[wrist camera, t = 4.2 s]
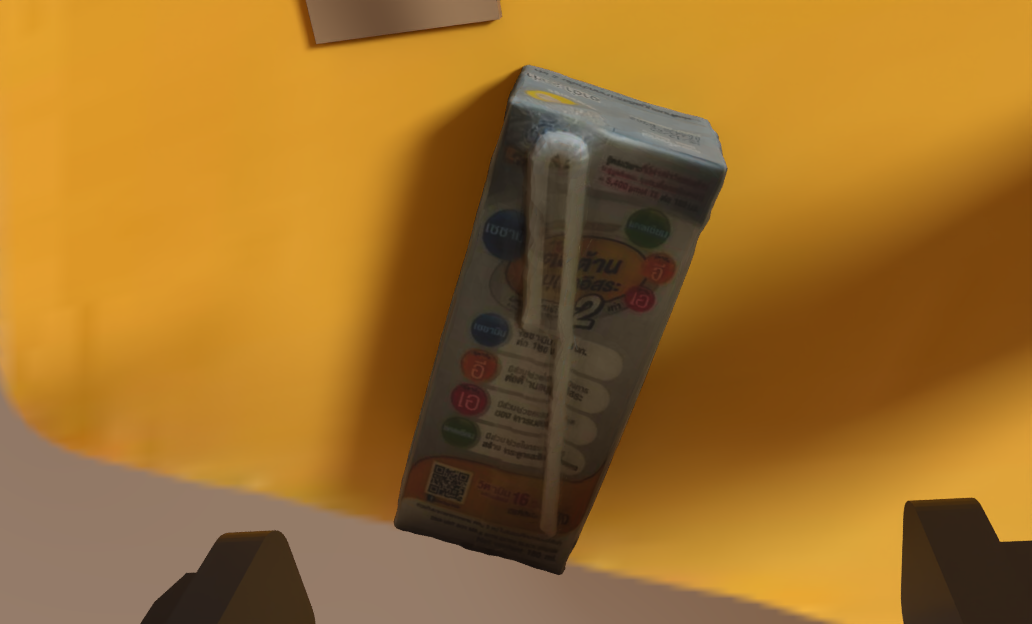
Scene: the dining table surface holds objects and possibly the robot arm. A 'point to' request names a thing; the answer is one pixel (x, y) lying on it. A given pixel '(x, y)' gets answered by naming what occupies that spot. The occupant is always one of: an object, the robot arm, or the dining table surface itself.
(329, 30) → the pad
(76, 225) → the dining table surface
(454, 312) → the beverage carton
